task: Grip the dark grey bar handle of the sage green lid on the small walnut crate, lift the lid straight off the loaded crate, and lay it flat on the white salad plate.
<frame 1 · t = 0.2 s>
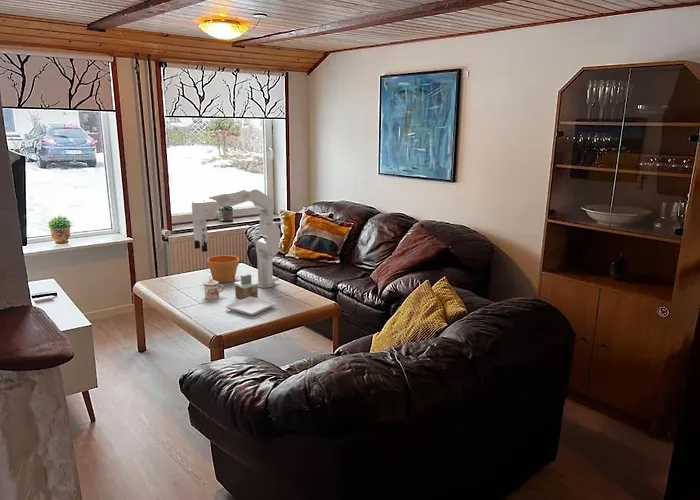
hand: (201, 249, 324), 31 cm above the table, tool pointing down, fingers open, 9 cm apart
lid: (246, 284, 334), point 8 cm above the table, touching crate
crate: (246, 297, 336), on the table
salad plate: (251, 310, 316), on the table
teacup with lid: (214, 296, 337), on the table
flower pot: (224, 279, 372), on the table
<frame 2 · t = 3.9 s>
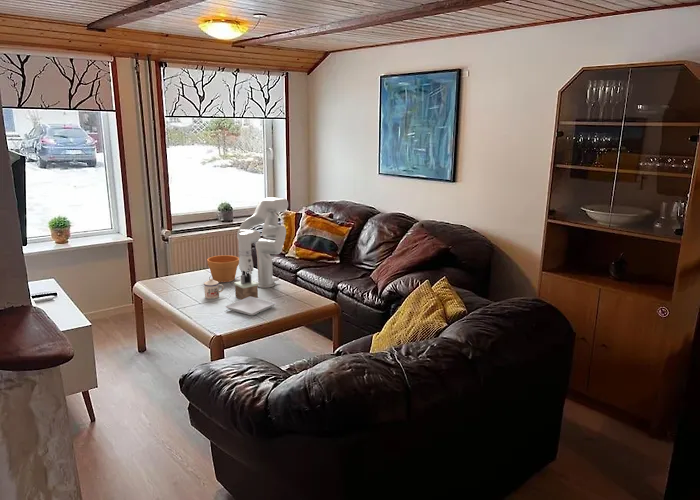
hand: (246, 281, 334), 10 cm above the table, tool pointing down, fingers closed on lid, 2 cm apart
lid: (246, 284, 334), point 8 cm above the table, touching gripper
everything else where it was.
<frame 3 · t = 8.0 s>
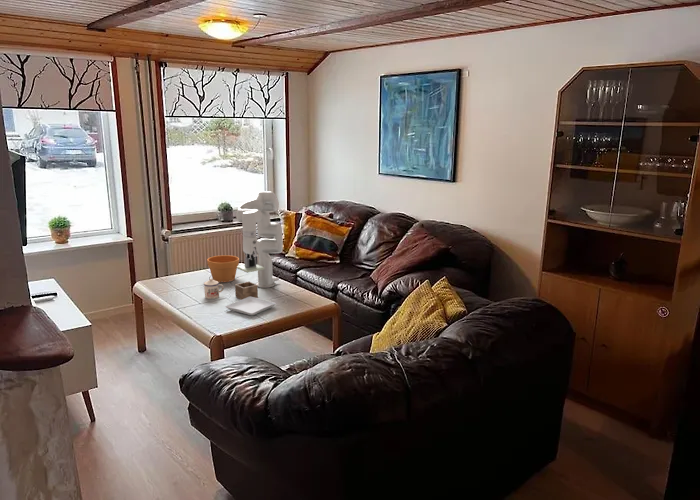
hand: (250, 265, 306), 27 cm above the table, tool pointing down, fingers closed on lid, 2 cm apart
lid: (250, 268, 307), point 25 cm above the table, touching gripper
everything else where it was.
when the fingers open (6 cm above the table, at t = 12.2 s): lid drops 1 cm, resting on salad plate.
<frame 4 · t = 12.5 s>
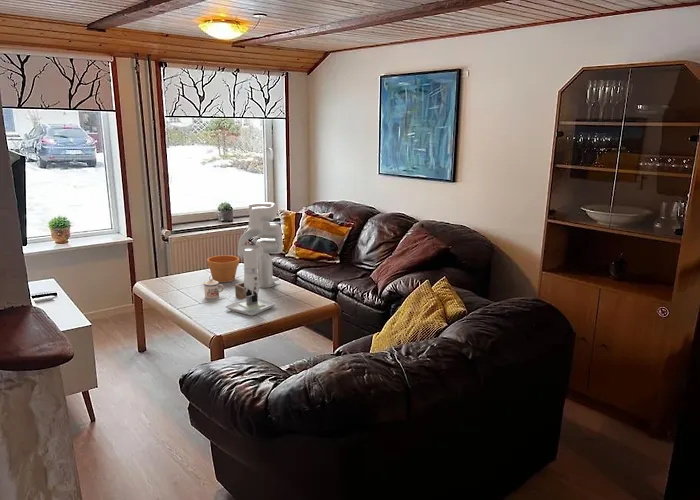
hand: (251, 300, 311), 6 cm above the table, tool pointing down, fingers open, 5 cm apart
lid: (252, 305, 312), point 3 cm above the table, touching salad plate
salad plate: (251, 310, 316), on the table, touching lid
everything else where it was.
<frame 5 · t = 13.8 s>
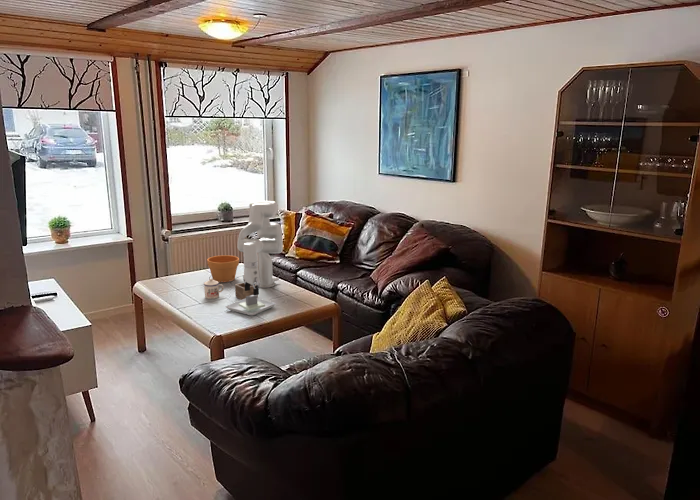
hand: (251, 292, 311), 11 cm above the table, tool pointing down, fingers open, 9 cm apart
nothing on the table moved.
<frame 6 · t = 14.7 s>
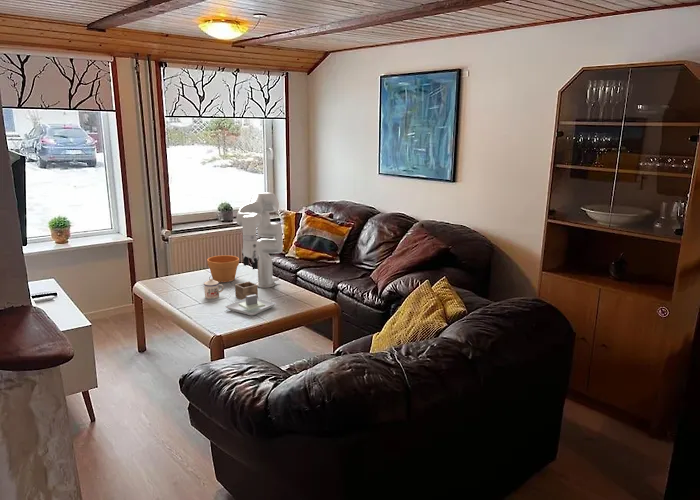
hand: (250, 267, 306), 26 cm above the table, tool pointing down, fingers open, 9 cm apart
nothing on the table moved.
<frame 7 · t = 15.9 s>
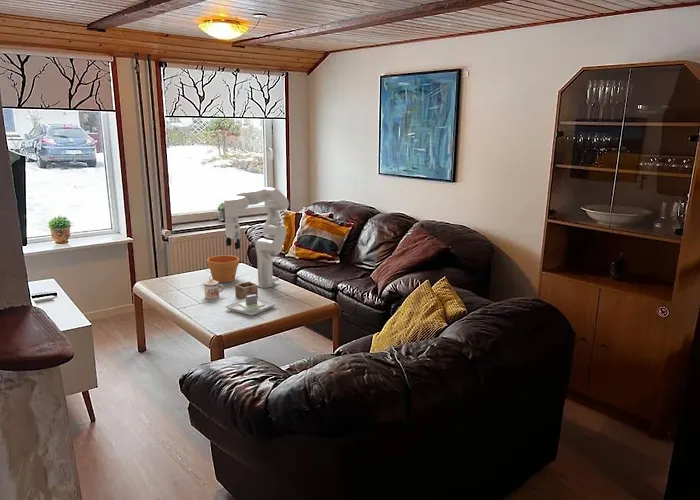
hand: (233, 247, 326), 32 cm above the table, tool pointing down, fingers open, 9 cm apart
nothing on the table moved.
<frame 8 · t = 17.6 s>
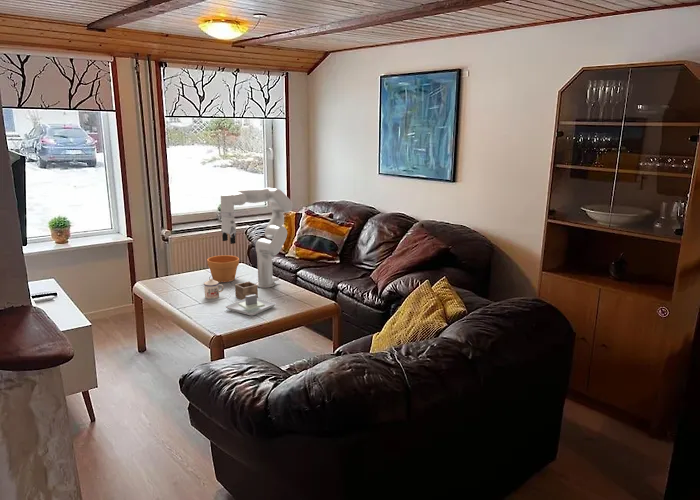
hand: (229, 242, 331), 34 cm above the table, tool pointing down, fingers open, 9 cm apart
nothing on the table moved.
at the end: lid inside the target area on the salad plate (2.4 cm from its centre), point 3.6 cm above the salad plate's base; lid tilted 0°; the gripper is holding nothing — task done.
